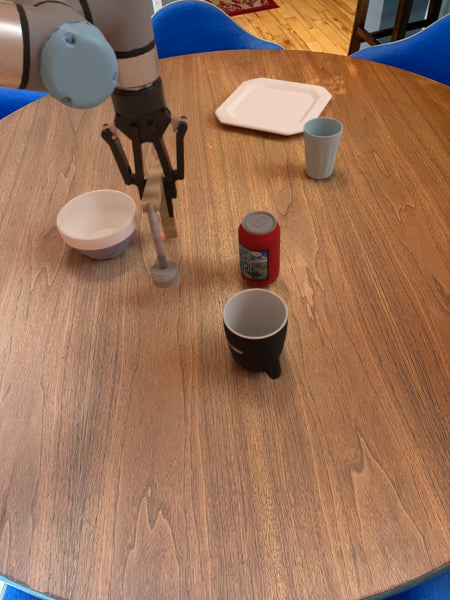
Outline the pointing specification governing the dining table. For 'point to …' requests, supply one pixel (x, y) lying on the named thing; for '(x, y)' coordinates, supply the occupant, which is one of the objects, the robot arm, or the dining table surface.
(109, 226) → the bowl
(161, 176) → the ladle
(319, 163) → the cup
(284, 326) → the mug
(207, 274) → the dining table surface
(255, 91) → the plate
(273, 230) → the beverage can
